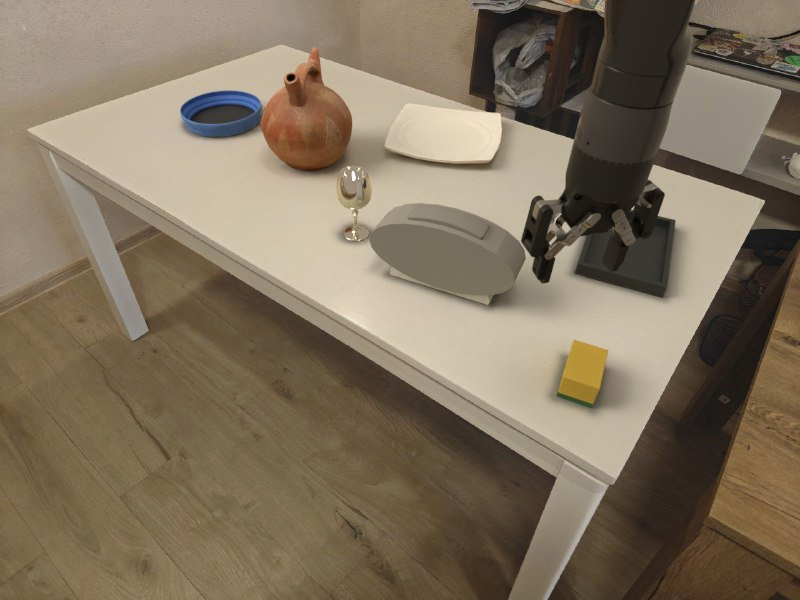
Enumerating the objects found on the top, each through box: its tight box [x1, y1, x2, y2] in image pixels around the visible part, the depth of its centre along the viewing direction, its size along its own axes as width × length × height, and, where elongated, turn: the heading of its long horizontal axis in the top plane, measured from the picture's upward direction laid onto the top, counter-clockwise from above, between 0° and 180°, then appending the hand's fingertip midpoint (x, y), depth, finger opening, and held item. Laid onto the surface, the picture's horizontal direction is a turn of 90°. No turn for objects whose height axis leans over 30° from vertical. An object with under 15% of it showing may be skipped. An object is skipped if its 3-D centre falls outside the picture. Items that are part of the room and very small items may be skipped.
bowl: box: [179, 89, 263, 138], centre depth 126 cm, size 18×18×4 cm
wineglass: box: [336, 165, 373, 242], centre depth 92 cm, size 6×6×12 cm
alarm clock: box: [368, 202, 526, 306], centre depth 83 cm, size 23×6×13 cm, turn 65°
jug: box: [260, 46, 353, 172], centre depth 108 cm, size 18×18×20 cm
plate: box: [383, 102, 503, 165], centre depth 120 cm, size 24×24×3 cm
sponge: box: [556, 339, 609, 409], centre depth 71 cm, size 7×4×4 cm, turn 156°
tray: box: [574, 209, 677, 298], centre depth 93 cm, size 20×14×2 cm
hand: (575, 272), depth 62 cm, fingers open, 8 cm apart
